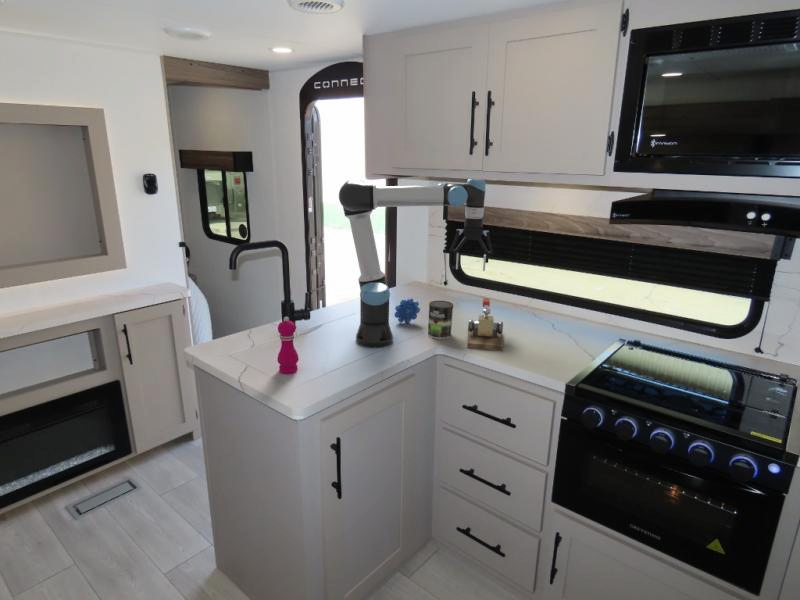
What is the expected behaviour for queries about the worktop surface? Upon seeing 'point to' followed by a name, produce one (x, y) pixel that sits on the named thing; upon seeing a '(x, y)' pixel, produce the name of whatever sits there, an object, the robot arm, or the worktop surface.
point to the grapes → (407, 310)
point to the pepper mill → (287, 347)
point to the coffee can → (440, 319)
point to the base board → (484, 342)
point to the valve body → (485, 326)
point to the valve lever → (486, 305)
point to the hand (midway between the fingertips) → (470, 269)
